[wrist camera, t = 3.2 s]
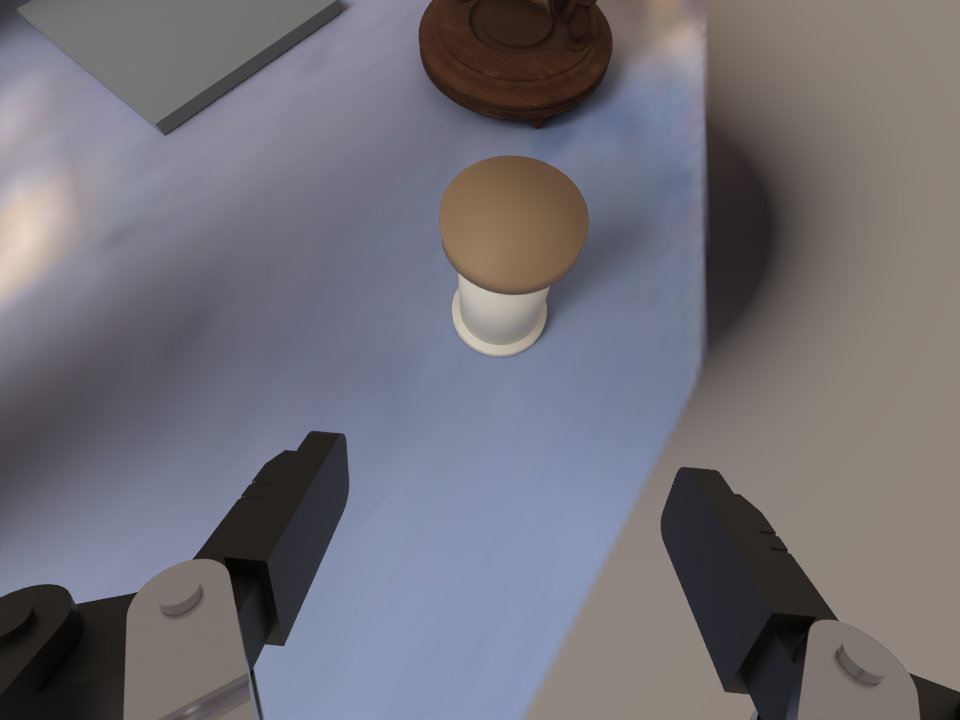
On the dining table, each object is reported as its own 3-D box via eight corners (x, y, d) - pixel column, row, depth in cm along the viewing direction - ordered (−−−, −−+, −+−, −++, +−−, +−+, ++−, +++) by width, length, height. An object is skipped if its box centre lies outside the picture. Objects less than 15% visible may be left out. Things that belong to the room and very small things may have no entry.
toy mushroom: (546, 364, 27) (587, 288, 17) (443, 355, 27) (430, 273, 17) (549, 275, 29) (589, 162, 19) (455, 266, 29) (448, 149, 19)
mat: (164, 135, 32) (155, 124, 31) (27, 22, 35) (15, 9, 34) (341, 12, 37) (337, -1, 36) (205, -77, 40) (198, -91, 39)
